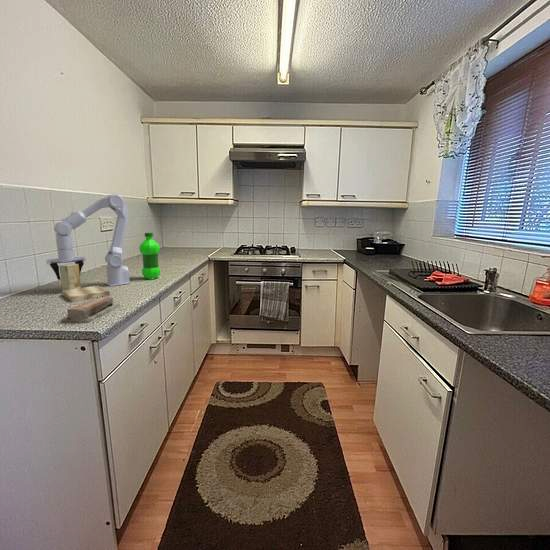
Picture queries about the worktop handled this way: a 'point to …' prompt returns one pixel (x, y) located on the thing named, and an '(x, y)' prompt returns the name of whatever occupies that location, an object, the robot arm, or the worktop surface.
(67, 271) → the skincare box
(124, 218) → the robot arm
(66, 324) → the worktop surface
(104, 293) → the wooden base
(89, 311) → the brown rectangular block
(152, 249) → the plastic bottle
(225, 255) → the worktop surface
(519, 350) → the worktop surface
